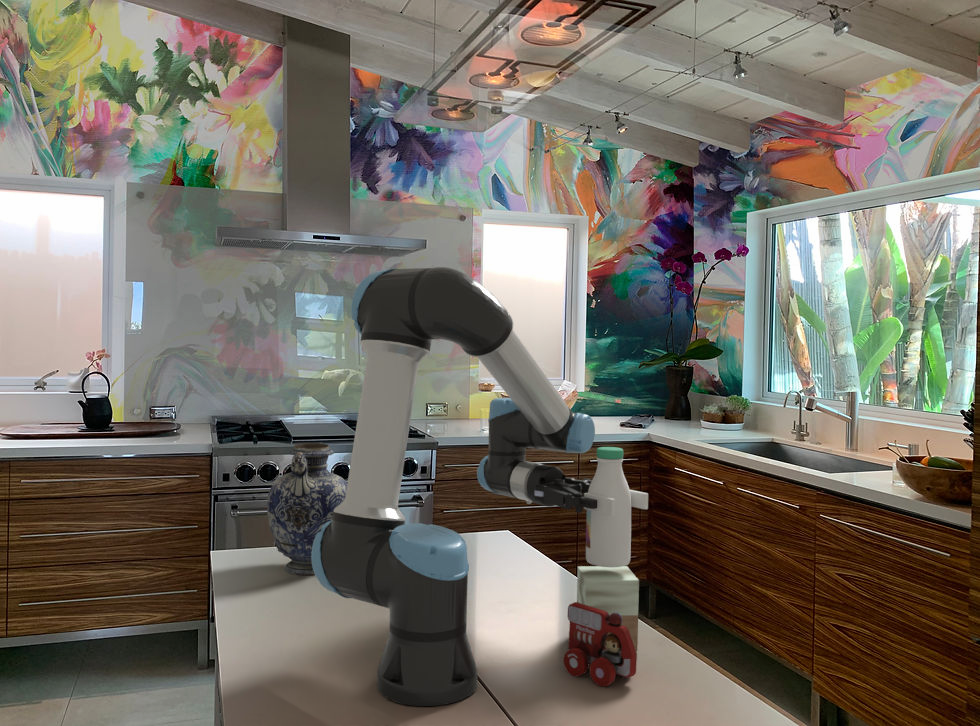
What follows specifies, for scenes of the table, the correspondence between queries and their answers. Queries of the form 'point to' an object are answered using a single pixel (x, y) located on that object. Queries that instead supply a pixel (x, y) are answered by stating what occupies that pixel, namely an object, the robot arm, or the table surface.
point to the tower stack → (611, 593)
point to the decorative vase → (303, 504)
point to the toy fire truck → (599, 645)
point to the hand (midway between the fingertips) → (630, 504)
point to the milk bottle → (603, 531)
